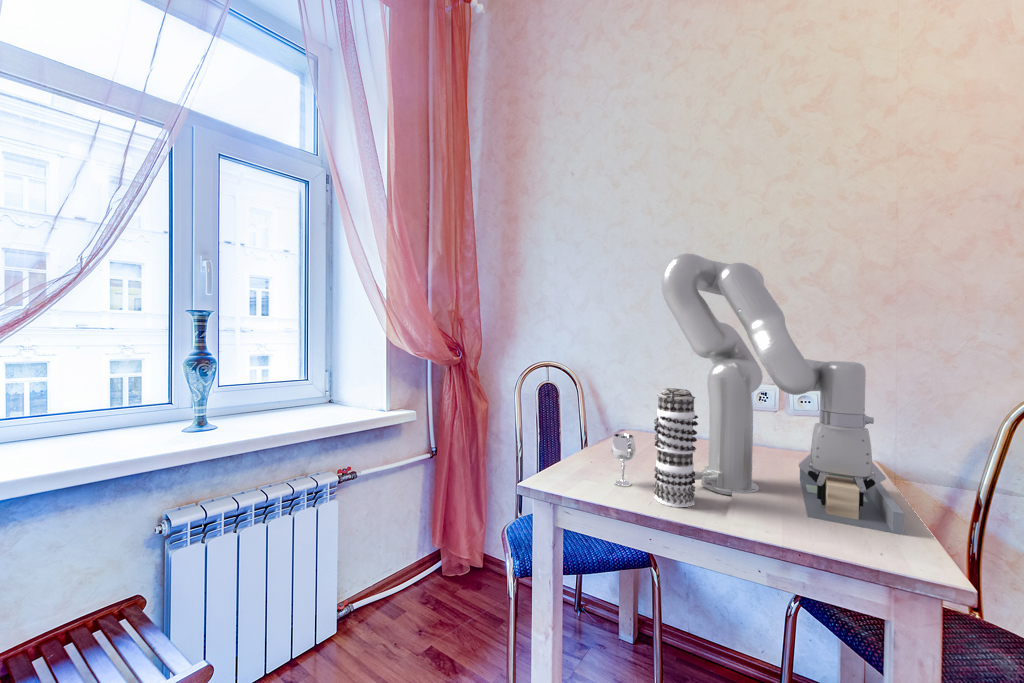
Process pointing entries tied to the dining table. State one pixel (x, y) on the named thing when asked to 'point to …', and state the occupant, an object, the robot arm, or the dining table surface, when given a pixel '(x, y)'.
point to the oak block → (842, 496)
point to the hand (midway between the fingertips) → (839, 505)
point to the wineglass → (623, 451)
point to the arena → (874, 513)
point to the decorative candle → (675, 448)
